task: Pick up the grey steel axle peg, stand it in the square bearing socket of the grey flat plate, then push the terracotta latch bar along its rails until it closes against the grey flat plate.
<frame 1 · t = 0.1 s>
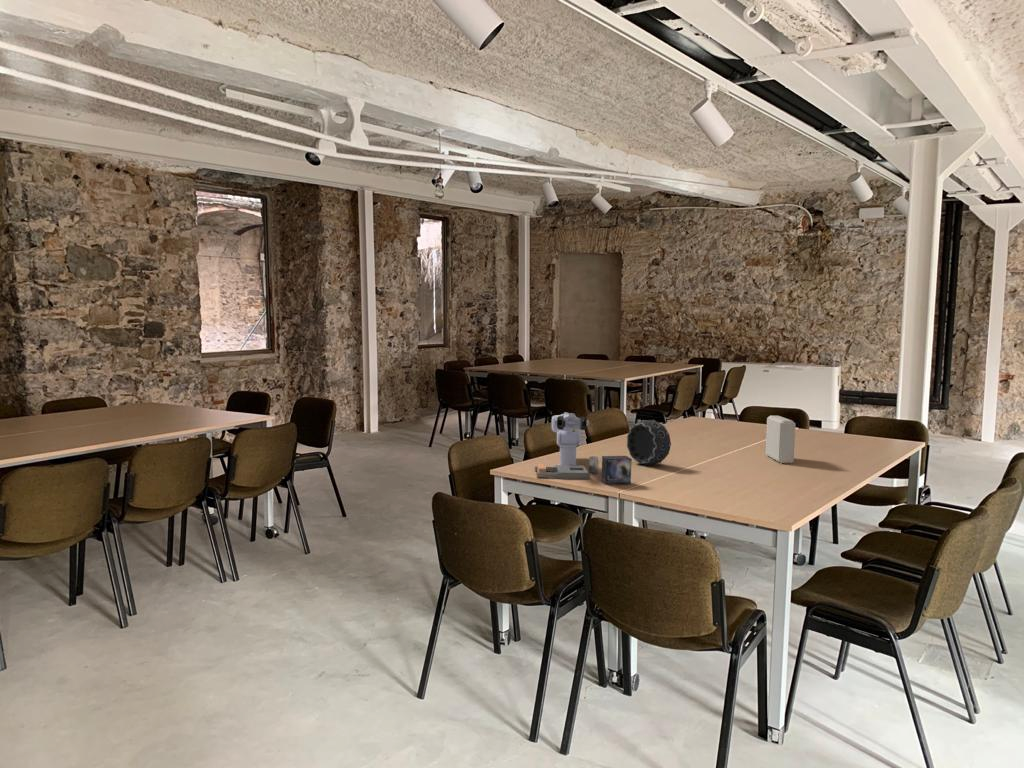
hand: (573, 424, 308), 22 cm above the table, tool horizontal, fingers open, 7 cm apart
grey upright block: (780, 460, 354), on the table
black toy wheel: (647, 464, 338), on the table
small box: (615, 483, 297), on the table
axle peg: (593, 473, 315), on the table
grey flat plate: (571, 474, 312), on the table
latch bar: (541, 470, 311), point 2 cm above the table, slide at 0.0 cm
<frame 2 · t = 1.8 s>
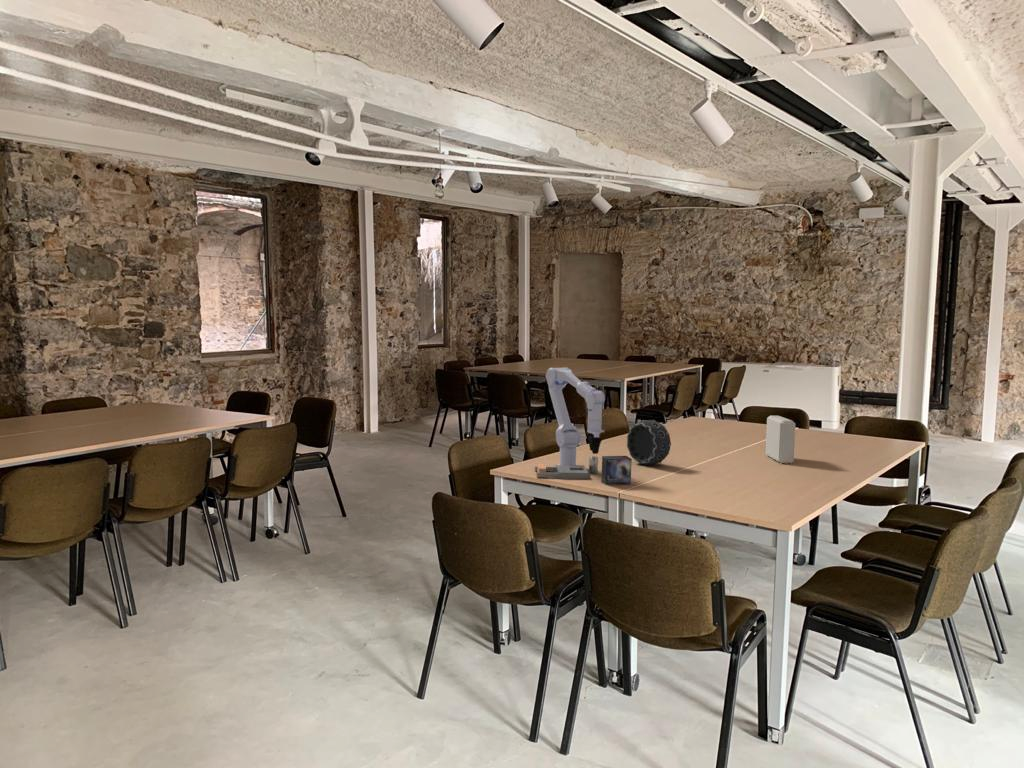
hand: (593, 452, 315), 9 cm above the table, tool pointing down, fingers open, 7 cm apart
nothing on the table moved.
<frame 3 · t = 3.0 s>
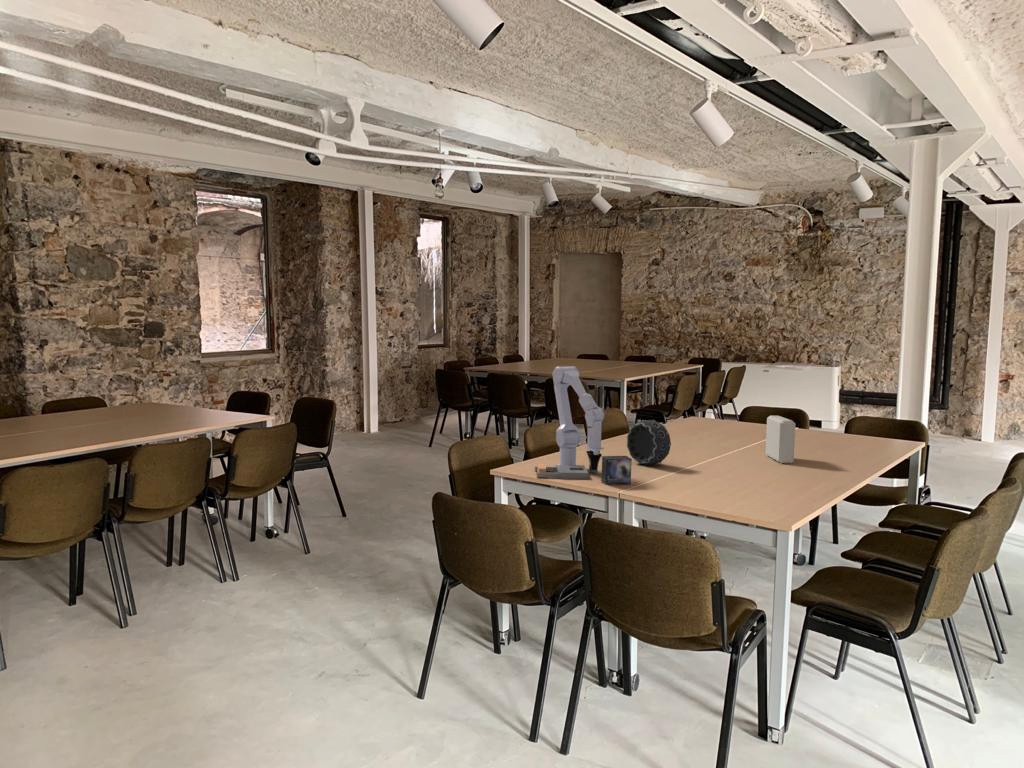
hand: (593, 468, 315), 2 cm above the table, tool pointing down, fingers closed on axle peg, 4 cm apart
axle peg: (593, 473, 315), on the table, touching gripper
everything else where it was.
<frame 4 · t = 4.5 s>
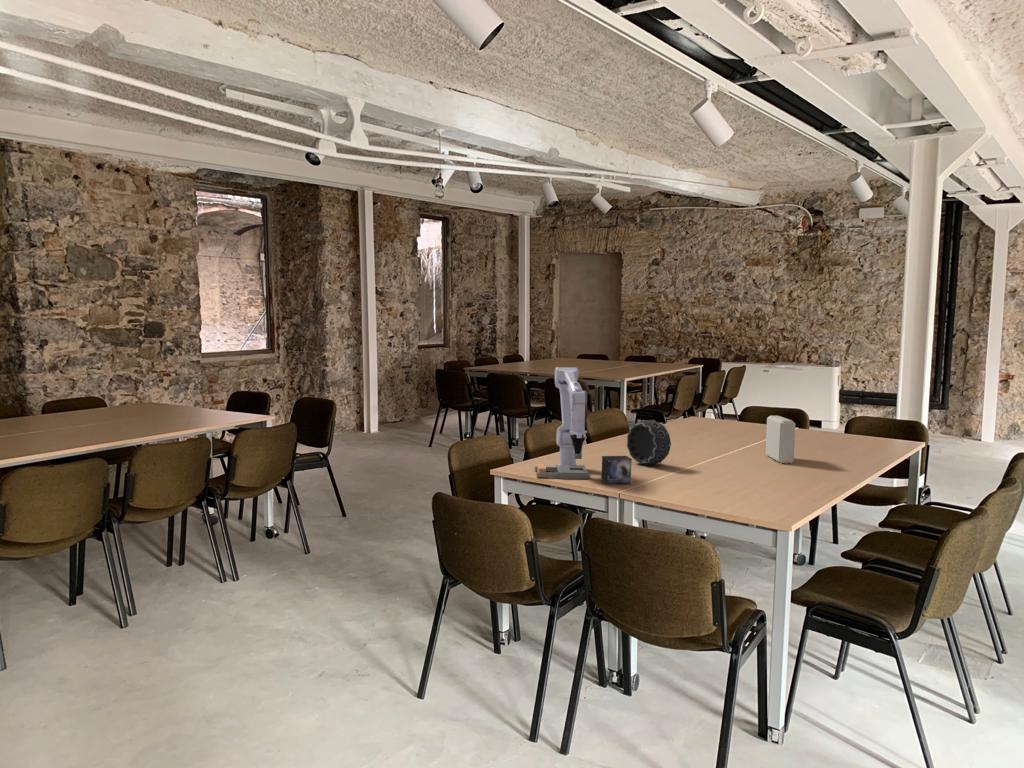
hand: (577, 452, 311), 9 cm above the table, tool pointing down, fingers closed on axle peg, 4 cm apart
axle peg: (577, 458, 311), point 7 cm above the table, touching gripper
everything else where it was.
when the fingers open (3 cm above the table, at t = 5.9 s): axle peg drops 1 cm, resting in grey flat plate.
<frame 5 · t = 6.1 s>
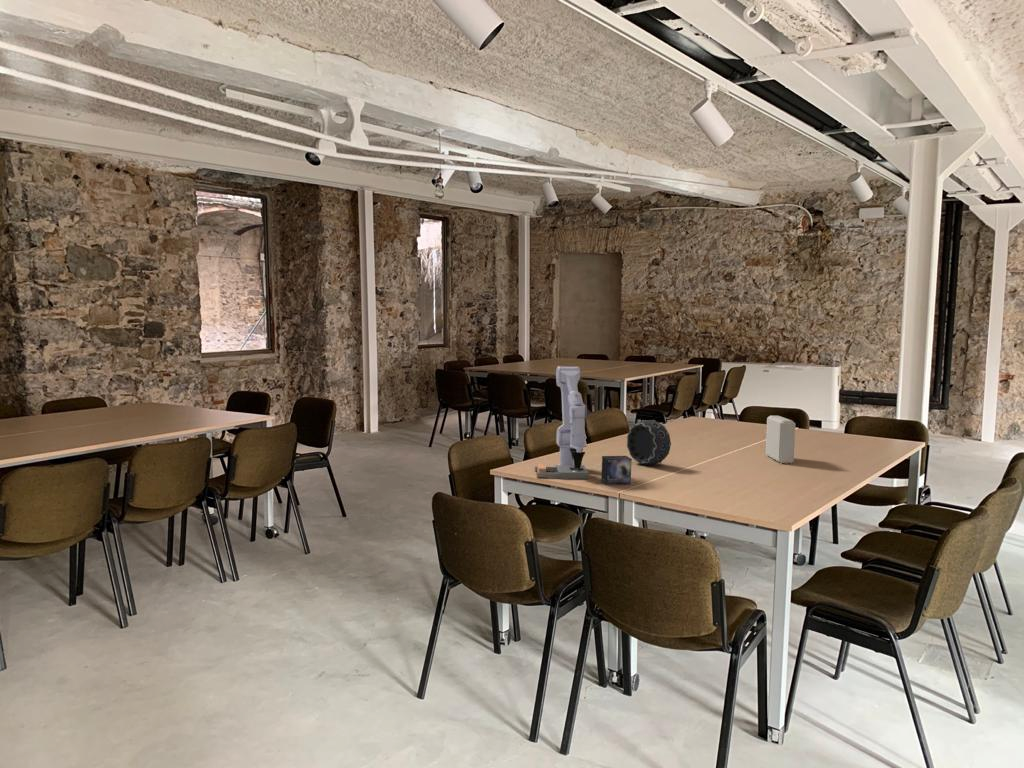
hand: (576, 466, 312), 3 cm above the table, tool pointing down, fingers open, 5 cm apart
axle peg: (577, 474, 312), resting in grey flat plate
everything else where it was.
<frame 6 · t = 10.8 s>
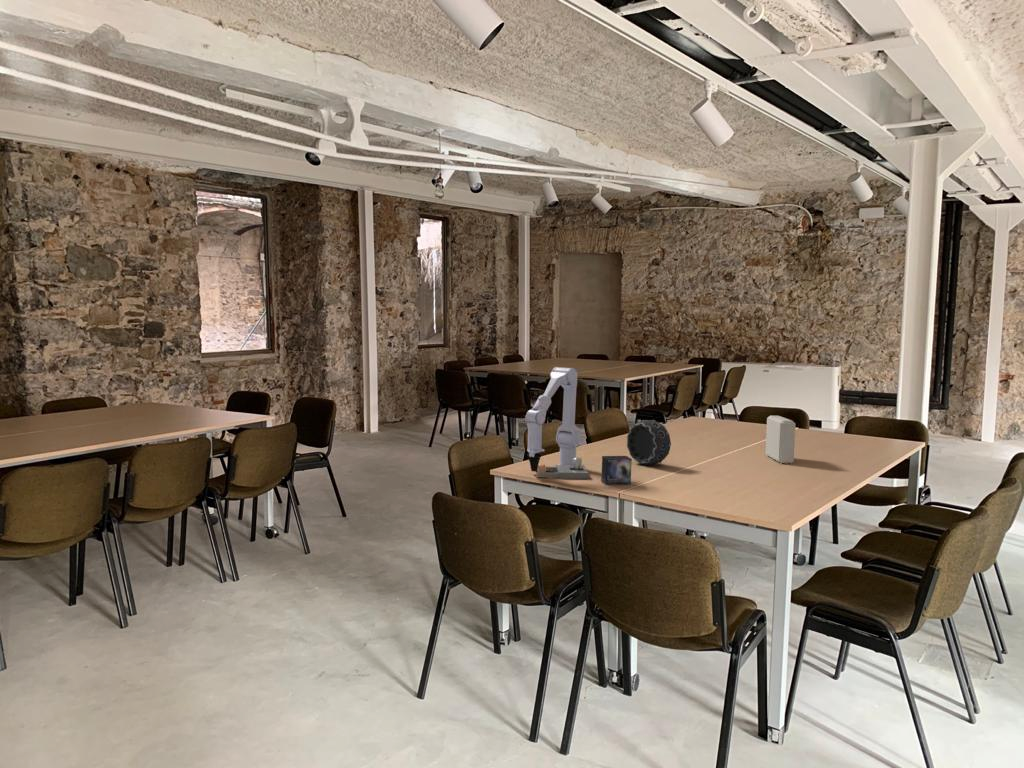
hand: (534, 471, 311), 1 cm above the table, tool pointing down, fingers closed
latch bar: (542, 470, 311), point 2 cm above the table, slide at 0.1 cm, touching gripper
everything else where it was.
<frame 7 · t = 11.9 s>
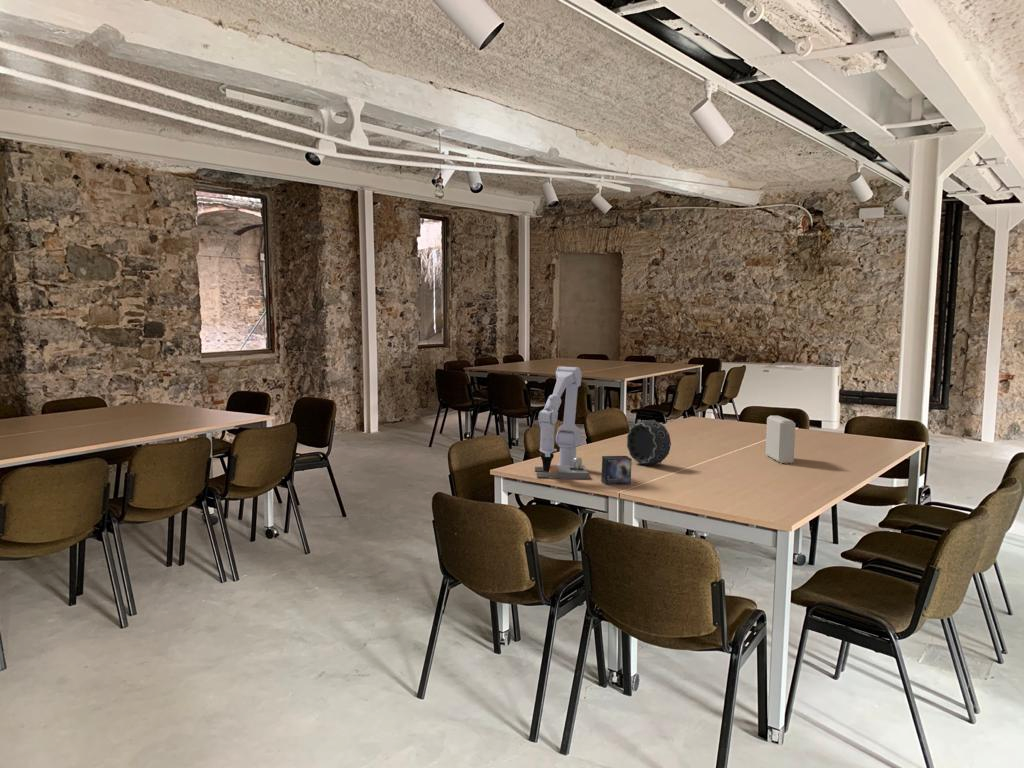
hand: (546, 471, 311), 1 cm above the table, tool pointing down, fingers closed, pressing on latch bar
latch bar: (553, 470, 311), point 2 cm above the table, slide at 4.9 cm, touching gripper
everything else where it was.
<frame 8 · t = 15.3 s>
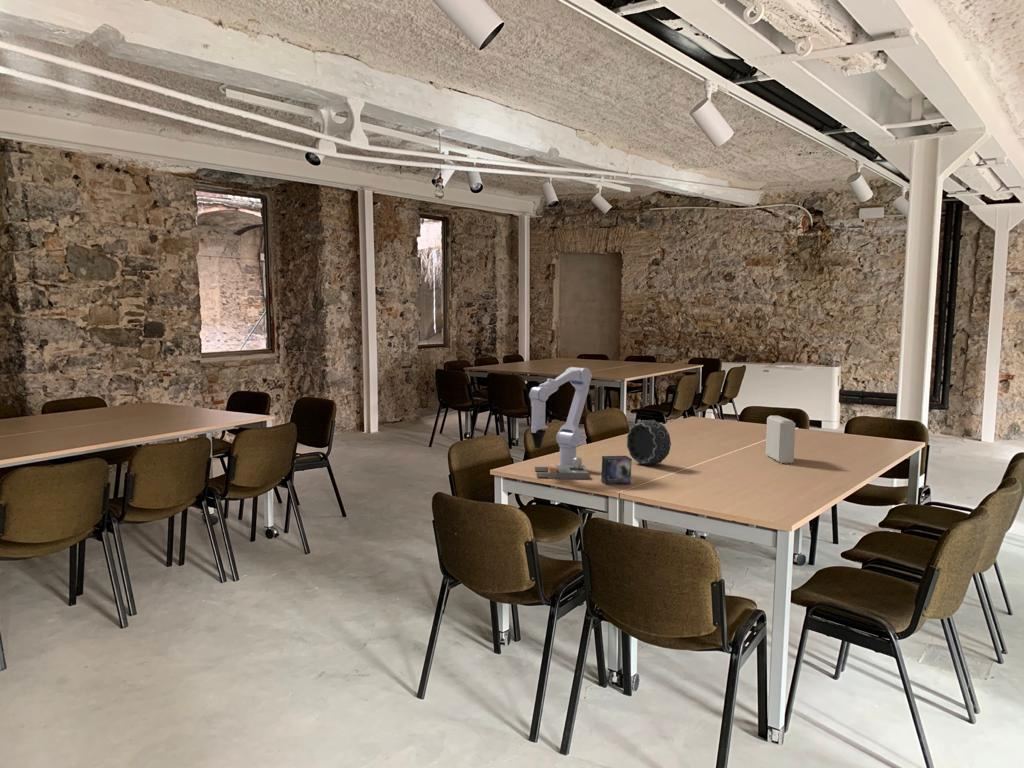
hand: (537, 447, 315), 10 cm above the table, tool pointing down, fingers closed
latch bar: (552, 470, 311), point 2 cm above the table, slide at 4.5 cm
everything else where it was.
at the end: axle peg 0.3 cm from the target spot on the grey flat plate, point 0.0 cm above the grey flat plate's base; axle peg tilted 0°; latch bar slide at 4.5 cm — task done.
